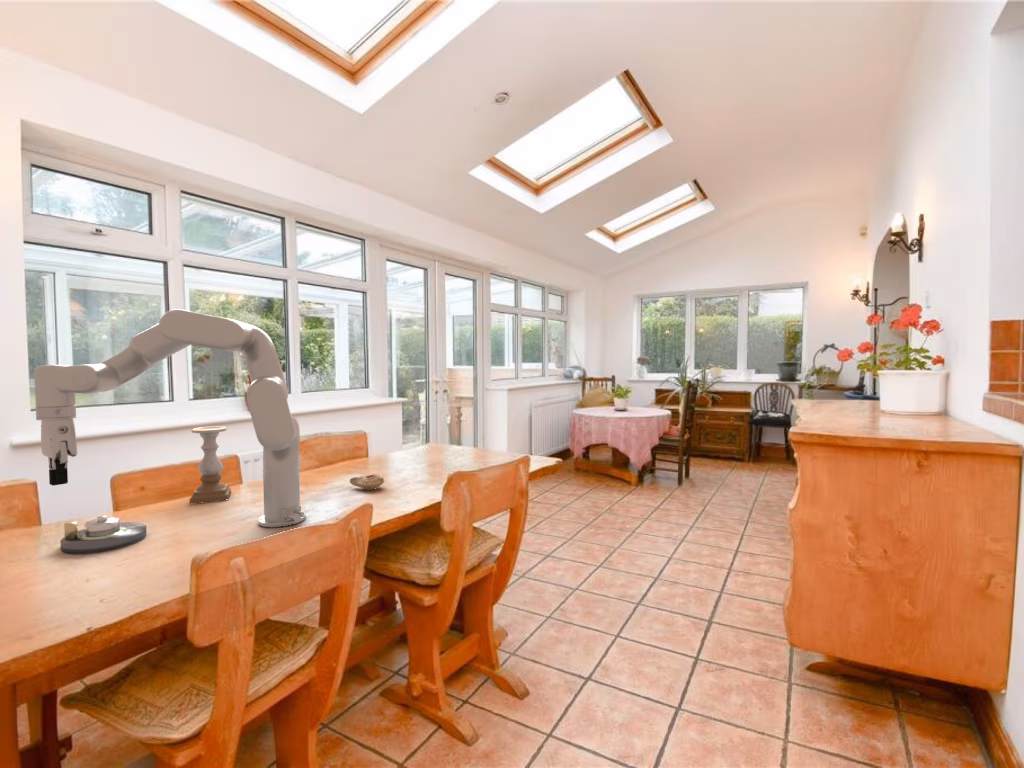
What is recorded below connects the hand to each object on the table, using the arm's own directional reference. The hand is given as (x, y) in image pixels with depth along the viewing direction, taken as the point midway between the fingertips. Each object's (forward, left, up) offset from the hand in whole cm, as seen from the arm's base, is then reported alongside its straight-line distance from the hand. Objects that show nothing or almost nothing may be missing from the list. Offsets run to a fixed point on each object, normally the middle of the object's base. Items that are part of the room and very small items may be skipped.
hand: (58, 483), depth 126 cm
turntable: (-10, -6, -15) cm, 19 cm away
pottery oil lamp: (-24, -79, -15) cm, 84 cm away
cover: (-9, -6, -13) cm, 17 cm away
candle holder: (+10, -41, -15) cm, 45 cm away
